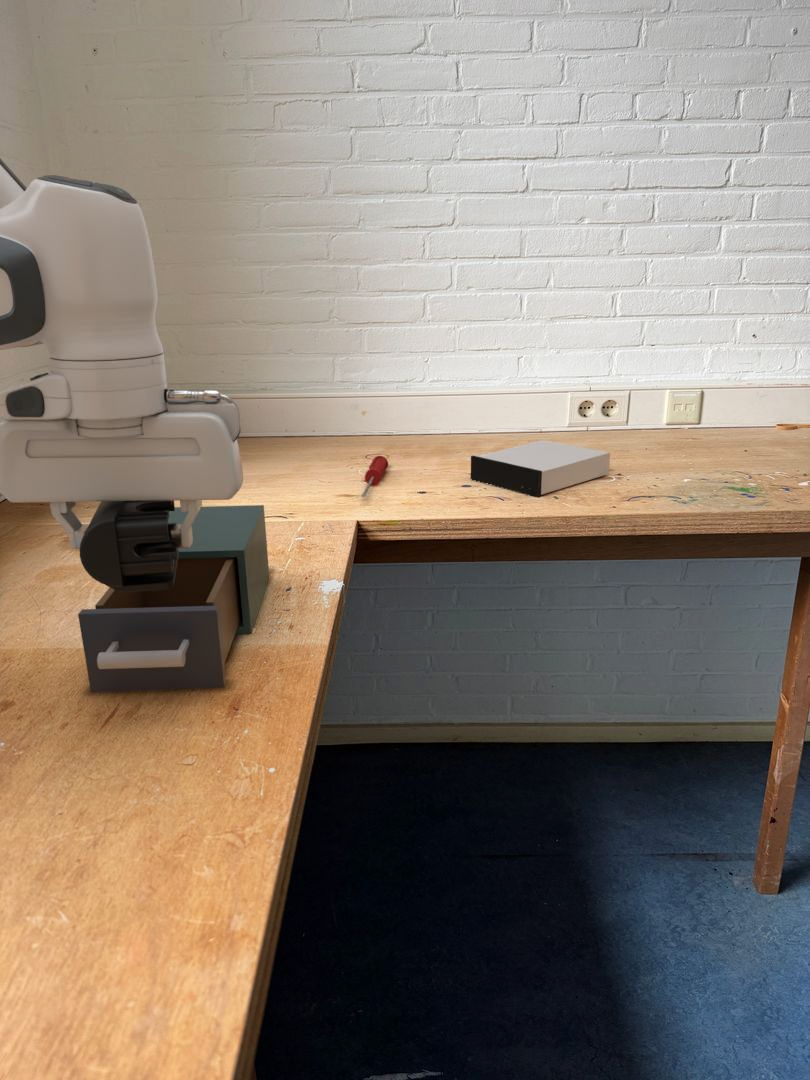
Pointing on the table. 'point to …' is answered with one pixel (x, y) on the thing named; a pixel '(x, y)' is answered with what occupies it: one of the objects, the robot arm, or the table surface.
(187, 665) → the drawer
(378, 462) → the screwdriver
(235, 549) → the cabinet
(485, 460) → the disc drive
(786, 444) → the table surface
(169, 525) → the end cap
